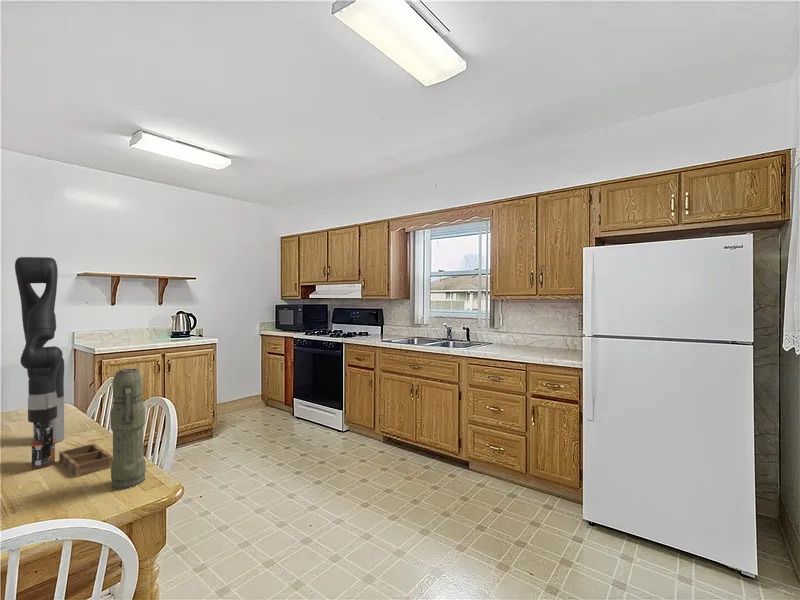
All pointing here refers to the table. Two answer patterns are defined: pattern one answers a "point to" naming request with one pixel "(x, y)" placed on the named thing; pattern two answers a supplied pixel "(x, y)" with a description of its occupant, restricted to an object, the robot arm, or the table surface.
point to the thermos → (127, 430)
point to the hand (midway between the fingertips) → (43, 454)
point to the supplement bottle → (37, 454)
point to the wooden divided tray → (85, 460)
